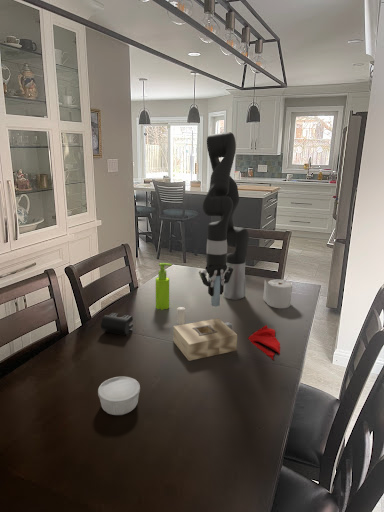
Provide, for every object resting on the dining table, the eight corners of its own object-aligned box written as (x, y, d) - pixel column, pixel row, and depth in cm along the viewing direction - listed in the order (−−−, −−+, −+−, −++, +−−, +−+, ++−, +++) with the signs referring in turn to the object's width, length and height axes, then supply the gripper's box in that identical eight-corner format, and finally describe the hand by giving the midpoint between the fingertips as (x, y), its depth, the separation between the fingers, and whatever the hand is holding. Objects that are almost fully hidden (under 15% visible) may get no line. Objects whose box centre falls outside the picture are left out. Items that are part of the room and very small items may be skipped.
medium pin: (183, 324, 151) (183, 306, 149) (186, 327, 148) (186, 309, 146) (175, 325, 149) (175, 307, 147) (178, 328, 147) (178, 311, 145)
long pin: (217, 302, 147) (218, 273, 144) (221, 305, 144) (222, 275, 141) (209, 303, 146) (210, 274, 142) (213, 307, 143) (214, 277, 140)
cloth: (252, 324, 153) (253, 319, 153) (287, 329, 149) (288, 324, 149) (241, 356, 129) (241, 350, 129) (282, 364, 125) (283, 357, 125)
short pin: (229, 333, 144) (229, 321, 142) (233, 337, 141) (234, 325, 139) (221, 335, 142) (222, 323, 141) (225, 339, 140) (226, 326, 138)
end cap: (101, 334, 141) (100, 318, 139) (110, 326, 148) (110, 310, 146) (125, 339, 138) (124, 322, 136) (134, 331, 145) (133, 314, 143)
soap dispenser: (171, 310, 163) (171, 265, 158) (155, 309, 163) (154, 265, 158) (172, 304, 169) (172, 261, 164) (156, 304, 169) (156, 261, 164)
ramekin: (122, 387, 111) (121, 371, 109) (149, 403, 104) (148, 386, 103) (90, 406, 103) (89, 389, 101) (117, 425, 96) (116, 407, 94)
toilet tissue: (291, 309, 166) (293, 288, 164) (263, 307, 168) (265, 286, 165) (289, 300, 177) (291, 280, 174) (263, 298, 178) (264, 278, 176)
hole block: (217, 332, 144) (218, 317, 143) (236, 350, 132) (237, 334, 130) (173, 341, 137) (173, 325, 135) (188, 360, 125) (189, 343, 123)
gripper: (228, 246, 145) (227, 288, 150) (194, 250, 139) (194, 294, 144) (238, 251, 138) (236, 295, 143) (204, 255, 133) (203, 301, 138)
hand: (215, 294), depth 144 cm, fingers closed on long pin, 3 cm apart
